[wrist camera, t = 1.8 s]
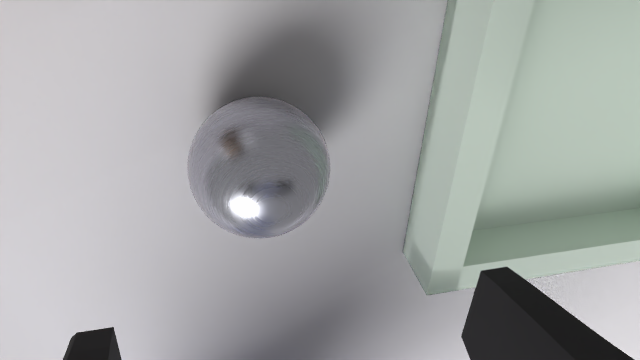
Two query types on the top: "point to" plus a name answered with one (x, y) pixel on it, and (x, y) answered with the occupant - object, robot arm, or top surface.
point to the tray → (529, 142)
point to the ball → (258, 167)
